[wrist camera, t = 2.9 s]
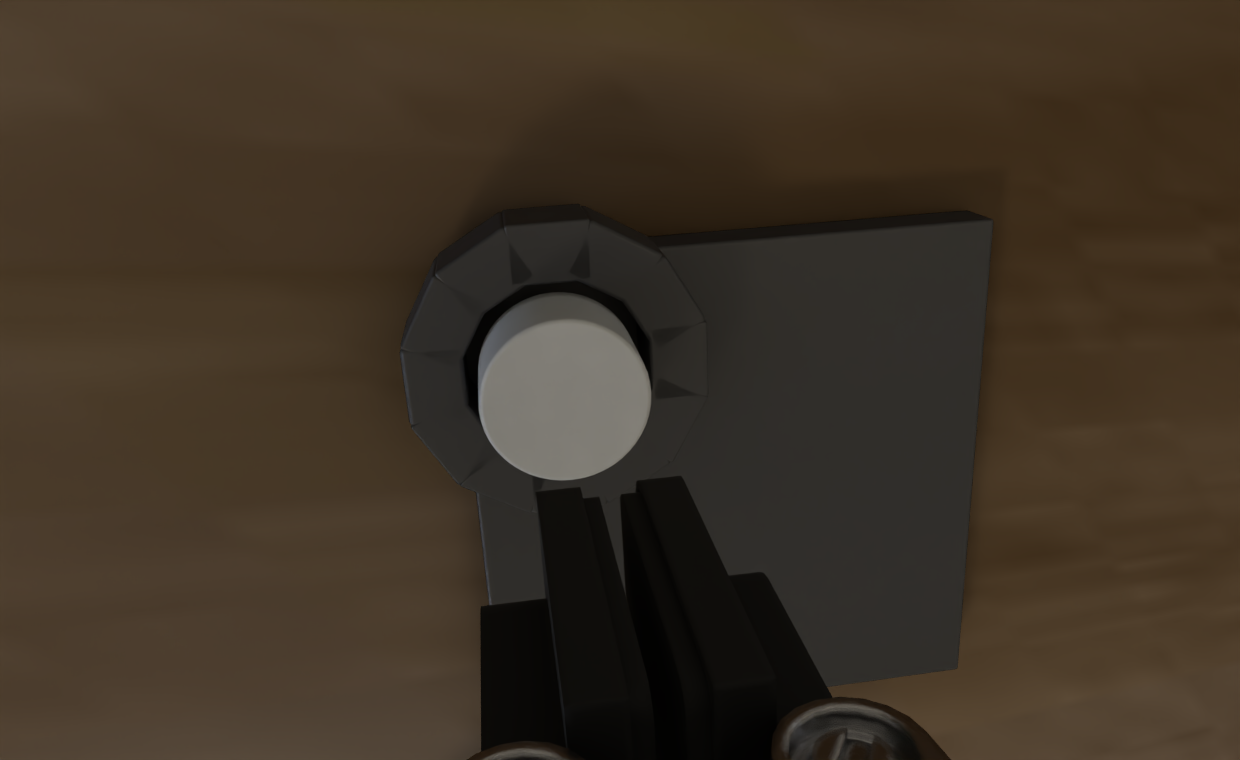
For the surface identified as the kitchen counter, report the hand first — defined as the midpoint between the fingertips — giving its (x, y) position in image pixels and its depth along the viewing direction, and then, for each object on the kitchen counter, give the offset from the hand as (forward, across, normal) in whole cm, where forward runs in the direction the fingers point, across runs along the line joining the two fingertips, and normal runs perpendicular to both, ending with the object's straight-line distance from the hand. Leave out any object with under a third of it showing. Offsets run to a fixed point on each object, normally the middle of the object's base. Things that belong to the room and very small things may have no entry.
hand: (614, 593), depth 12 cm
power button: (+8, 0, 0) cm, 8 cm away
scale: (+11, -4, +4) cm, 12 cm away
